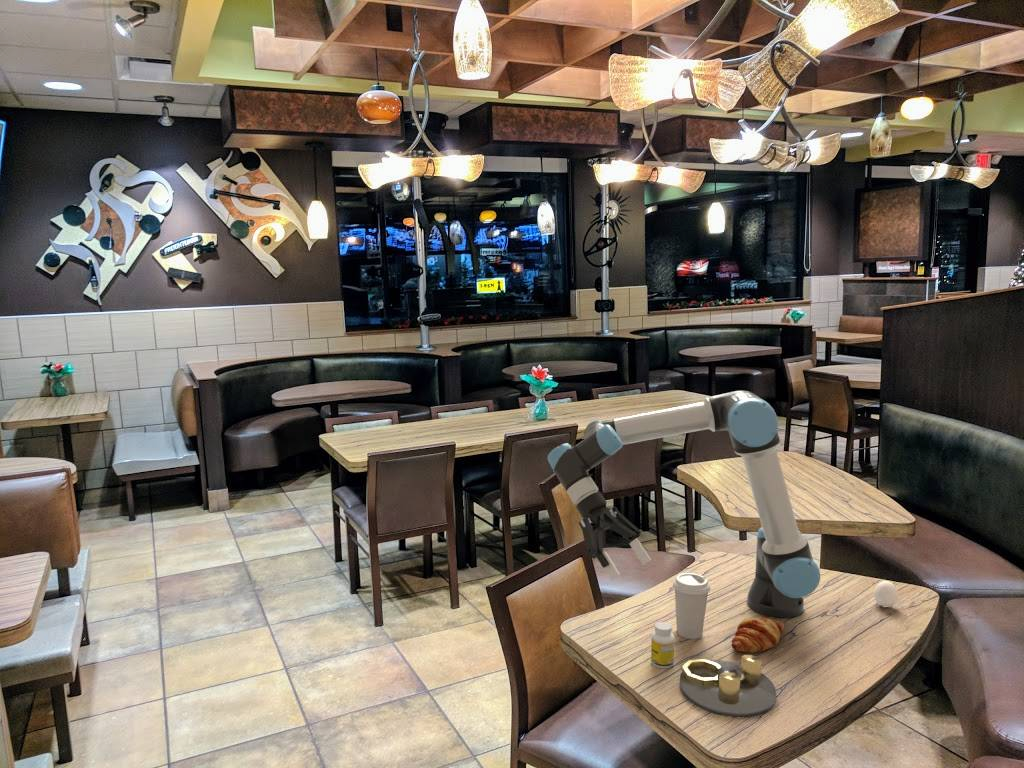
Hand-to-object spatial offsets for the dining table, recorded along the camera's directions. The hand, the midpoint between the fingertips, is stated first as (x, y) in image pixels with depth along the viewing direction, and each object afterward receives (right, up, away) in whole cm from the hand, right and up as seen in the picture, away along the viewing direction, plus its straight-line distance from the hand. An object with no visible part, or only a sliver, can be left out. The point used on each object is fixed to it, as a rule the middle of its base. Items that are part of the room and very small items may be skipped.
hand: (632, 569), depth 187 cm
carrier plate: (+19, -23, -17) cm, 34 cm away
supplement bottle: (+6, -22, -6) cm, 23 cm away
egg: (+76, -17, +25) cm, 82 cm away
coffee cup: (+17, -19, +9) cm, 27 cm away
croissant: (+33, -20, +4) cm, 39 cm away
